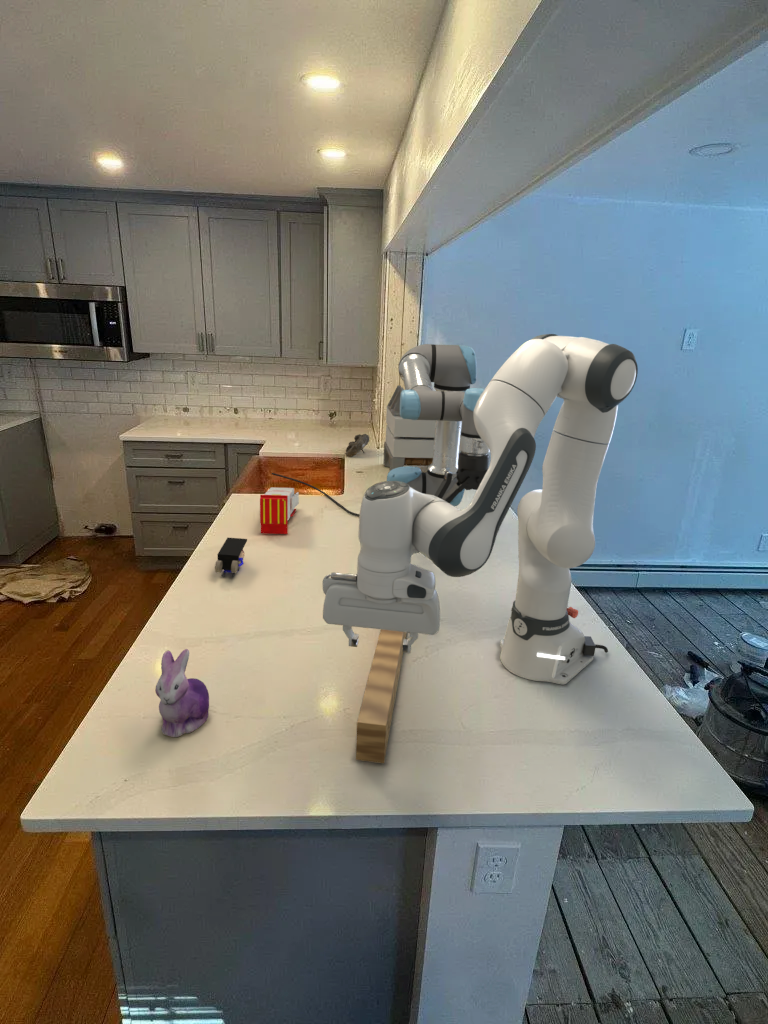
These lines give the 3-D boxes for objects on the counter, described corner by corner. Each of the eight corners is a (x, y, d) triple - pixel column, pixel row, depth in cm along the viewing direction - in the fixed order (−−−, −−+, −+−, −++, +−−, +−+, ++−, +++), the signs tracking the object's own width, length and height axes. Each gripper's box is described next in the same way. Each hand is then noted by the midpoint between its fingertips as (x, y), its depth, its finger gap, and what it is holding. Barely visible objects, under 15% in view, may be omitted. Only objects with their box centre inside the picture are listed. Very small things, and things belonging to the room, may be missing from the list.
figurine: (162, 747, 100) (154, 675, 95) (155, 711, 109) (147, 644, 103) (217, 731, 104) (212, 662, 99) (206, 698, 113) (201, 633, 108)
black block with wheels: (238, 584, 162) (249, 557, 175) (236, 562, 158) (247, 536, 172) (215, 584, 161) (227, 556, 175) (212, 561, 158) (225, 535, 171)
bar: (390, 611, 149) (392, 583, 146) (409, 613, 148) (411, 585, 145) (355, 759, 99) (356, 722, 97) (384, 763, 99) (386, 725, 96)
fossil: (345, 440, 316) (366, 424, 311) (356, 453, 319) (377, 438, 314) (339, 453, 297) (361, 437, 292) (350, 467, 300) (373, 452, 295)
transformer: (382, 463, 289) (386, 382, 275) (445, 464, 293) (451, 384, 279) (390, 482, 257) (394, 392, 243) (460, 483, 261) (468, 394, 247)
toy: (300, 483, 219) (290, 497, 190) (300, 516, 222) (290, 535, 192) (269, 482, 219) (254, 495, 189) (269, 515, 221) (254, 534, 192)
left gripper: (429, 456, 134) (423, 539, 141) (527, 456, 139) (517, 536, 146) (421, 449, 141) (416, 528, 148) (515, 449, 146) (506, 526, 153)
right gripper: (318, 579, 93) (317, 651, 98) (442, 591, 91) (436, 664, 96) (326, 563, 99) (326, 632, 104) (443, 574, 97) (437, 644, 102)
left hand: (466, 532), depth 147 cm, fingers open, 13 cm apart
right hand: (379, 647), depth 100 cm, fingers open, 8 cm apart
